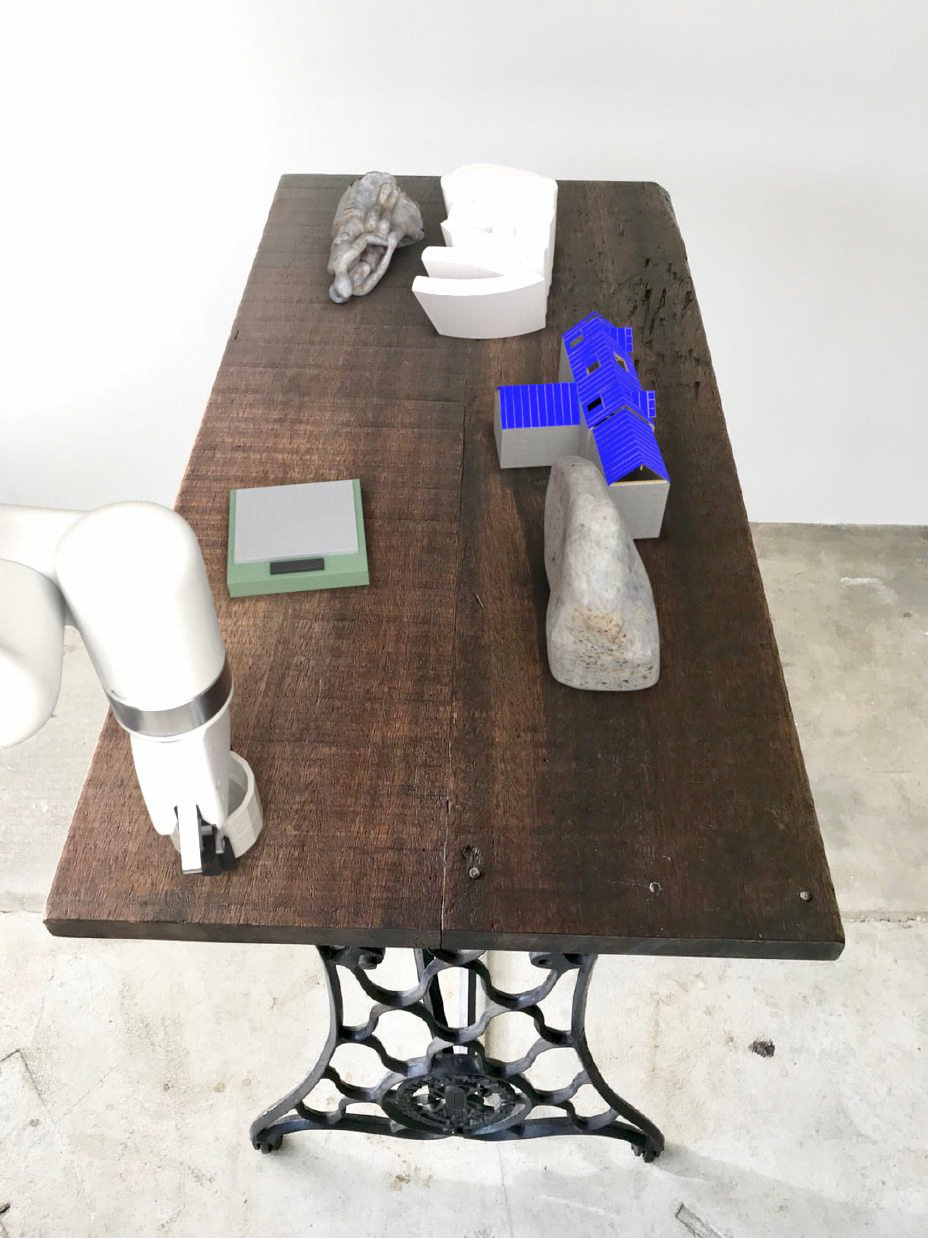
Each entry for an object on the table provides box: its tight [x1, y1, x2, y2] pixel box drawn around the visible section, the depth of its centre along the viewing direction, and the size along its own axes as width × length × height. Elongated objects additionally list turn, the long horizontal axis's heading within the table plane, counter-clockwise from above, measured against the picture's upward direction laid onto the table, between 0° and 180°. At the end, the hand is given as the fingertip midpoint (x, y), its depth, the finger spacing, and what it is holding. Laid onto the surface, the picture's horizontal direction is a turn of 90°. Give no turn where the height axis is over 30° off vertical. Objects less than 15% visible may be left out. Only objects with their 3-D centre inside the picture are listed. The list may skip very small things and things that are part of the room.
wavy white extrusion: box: [411, 163, 559, 340], centre depth 123 cm, size 35×16×10 cm, turn 170°
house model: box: [493, 310, 671, 540], centre depth 100 cm, size 25×15×10 cm, turn 5°
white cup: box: [169, 750, 264, 859], centre depth 72 cm, size 7×7×6 cm
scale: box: [226, 478, 370, 598], centre depth 94 cm, size 13×13×3 cm
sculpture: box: [326, 170, 426, 304], centre depth 125 cm, size 11×18×12 cm
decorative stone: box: [543, 456, 661, 692], centre depth 82 cm, size 17×20×10 cm
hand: (216, 821), depth 73 cm, fingers closed on white cup, 7 cm apart
